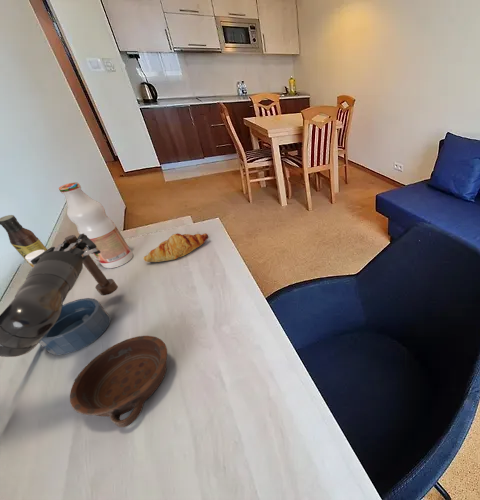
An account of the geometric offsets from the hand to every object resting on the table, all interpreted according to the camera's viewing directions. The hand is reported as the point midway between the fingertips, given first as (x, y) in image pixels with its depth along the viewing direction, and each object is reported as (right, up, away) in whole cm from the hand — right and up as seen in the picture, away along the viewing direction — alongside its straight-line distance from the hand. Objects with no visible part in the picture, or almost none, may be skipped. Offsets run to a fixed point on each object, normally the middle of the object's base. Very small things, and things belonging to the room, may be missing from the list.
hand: (77, 238), depth 79 cm
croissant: (+12, -4, +27) cm, 30 cm away
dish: (+25, -32, -14) cm, 43 cm away
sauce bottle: (-35, -9, +27) cm, 45 cm away
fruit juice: (-9, -7, +26) cm, 28 cm away
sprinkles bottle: (-19, -15, +16) cm, 29 cm away
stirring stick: (+3, -14, +7) cm, 16 cm away
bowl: (+2, -25, -1) cm, 25 cm away
